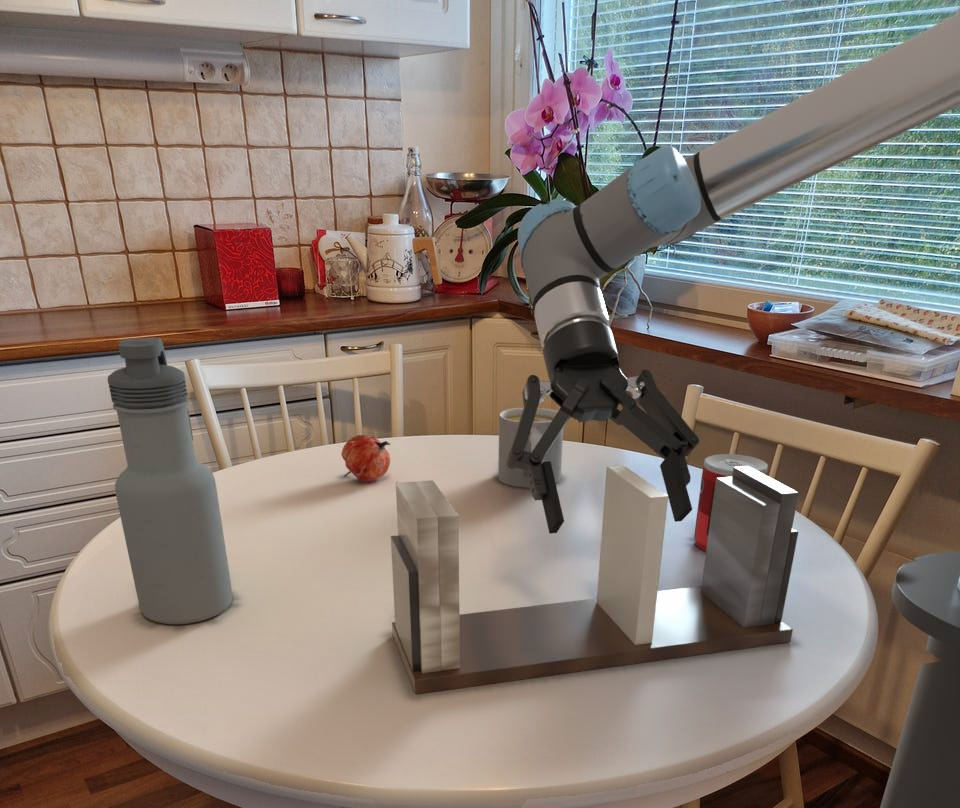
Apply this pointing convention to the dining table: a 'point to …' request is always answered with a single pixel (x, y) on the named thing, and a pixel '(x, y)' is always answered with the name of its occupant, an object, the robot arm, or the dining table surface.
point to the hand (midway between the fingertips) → (621, 521)
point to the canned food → (711, 470)
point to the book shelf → (584, 624)
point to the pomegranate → (366, 457)
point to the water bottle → (166, 493)
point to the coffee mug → (506, 437)
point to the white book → (631, 552)
